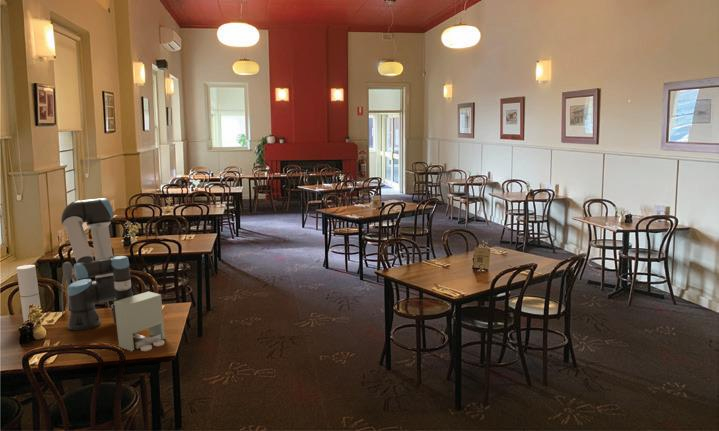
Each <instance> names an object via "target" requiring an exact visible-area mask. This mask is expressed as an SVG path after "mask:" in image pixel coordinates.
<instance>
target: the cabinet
mask: <svg viewBox="0 0 719 431" xmlns="http://www.w3.org/2000/svg"><path fill="white" fill-rule="evenodd" d="M113 304H114V305H115V314H116V323H117V324H116V333H117V340H118V347H119V348H121V349H124V350H126V349H127V351H129V350H130V351H129V352H133V350H134V351H135V342H134V337H133V333H136V334H137V333H138V332H141V331H143V330H144V331H145V330H147V329H148V330H149V336H150V337H151V336H154V335H157V334H161V340H165V339H166V333H165V332H166V331H165V322H164V314H163V312H164V311H163V303H162V294H160V293H156V292H152V291H149V290H148V291H145V292H142V293H138V294H135V295H132V296H131V297H128V298H125V299H121V300H118V301H116V300H113Z"/></svg>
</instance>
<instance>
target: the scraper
mask: <svg viewBox="0 0 719 431" xmlns="http://www.w3.org/2000/svg"><path fill="white" fill-rule="evenodd" d="M134 338H135V339H137V340H138V341H135V342H134V350H135V349H136V350H138V349H140V347H141V346H143V345H152V344H153V342H154V341H156V340H162V339H161V334H157V335H154V336H151V335H150V336H147V337H146V336H144V335H141V334H138V333H137V332H136V333H133V339H134Z"/></svg>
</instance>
